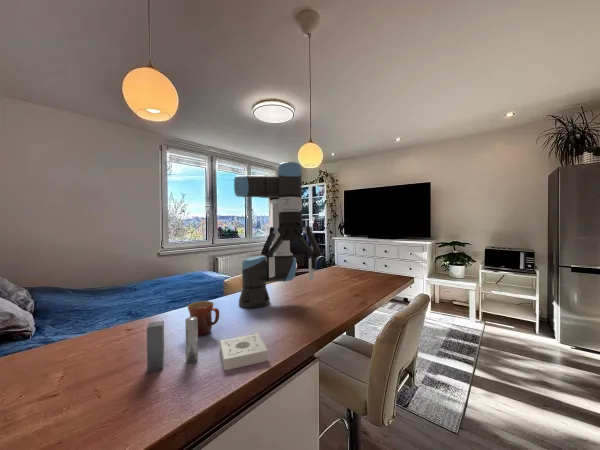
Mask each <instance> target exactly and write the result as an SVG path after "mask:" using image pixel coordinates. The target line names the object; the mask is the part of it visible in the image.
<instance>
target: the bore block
mask: <svg viewBox="0 0 600 450" xmlns="http://www.w3.org/2000/svg"><path fill="white" fill-rule="evenodd" d="M219 350H220V356H221V361H222V367H223V371H229V370H234V369H238V368H243V367H246V366H251V365H255V364H259V363H264V362H268V361H269V350H268V348H267V346H266V345H265V343H264V340H263V339H262V338H261V336H260V334H259V333H254V334H249V335H242V336H238V337H231V338H227V339H222V340H219Z"/></svg>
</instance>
